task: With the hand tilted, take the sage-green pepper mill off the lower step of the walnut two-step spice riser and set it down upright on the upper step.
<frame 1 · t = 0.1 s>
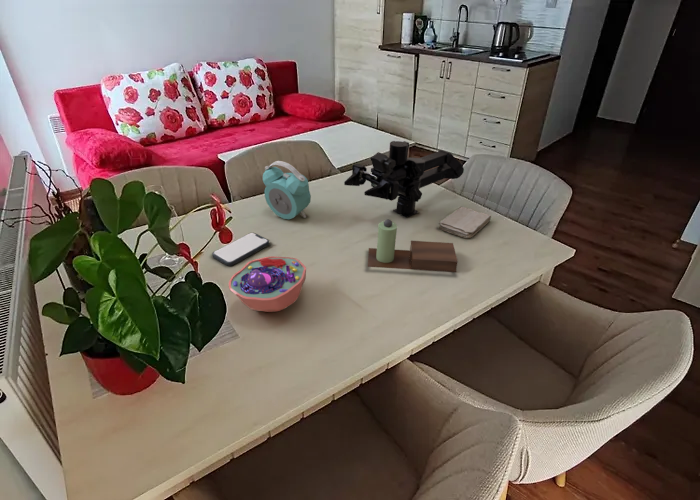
hand: (354, 188, 132), 17 cm above the table, tool horizontal, fingers open, 9 cm apart
cell model: (271, 301, 112), on the table
pepper mill: (385, 257, 127), point 1 cm above the table, touching spice riser
spice riser: (410, 263, 128), on the table
smartphone: (241, 251, 131), on the table
alarm clock: (288, 215, 151), on the table
washcloth: (464, 225, 149), on the table
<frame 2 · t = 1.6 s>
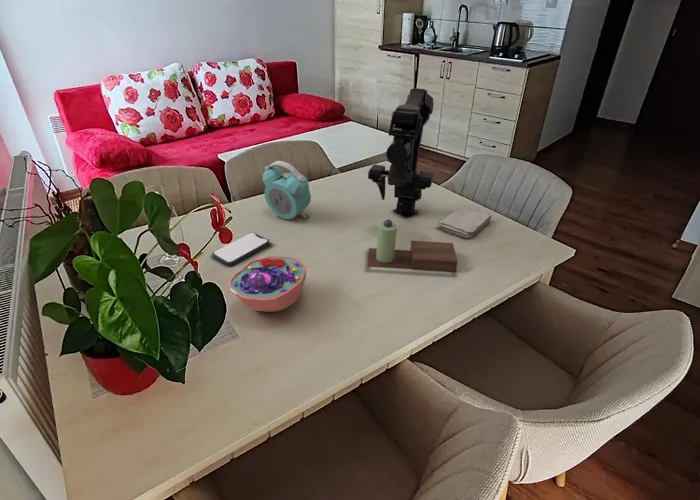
hand: (397, 201, 133), 13 cm above the table, tool pointing down, fingers open, 9 cm apart
nothing on the table moved.
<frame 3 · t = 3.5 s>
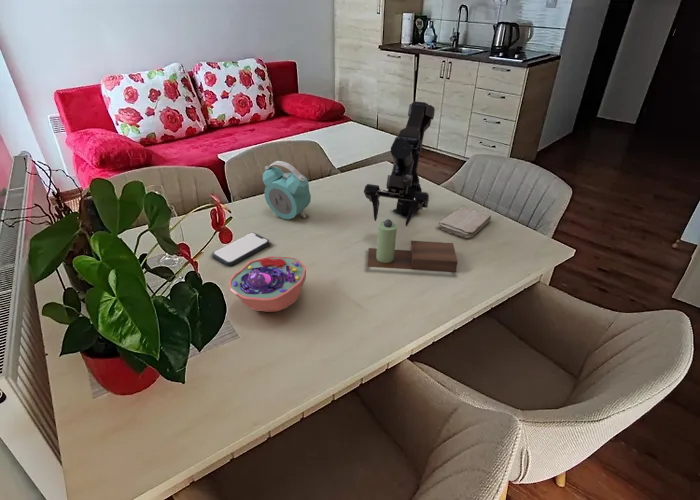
hand: (390, 223, 126), 11 cm above the table, tool tilted 45°, fingers open, 9 cm apart
nothing on the table moved.
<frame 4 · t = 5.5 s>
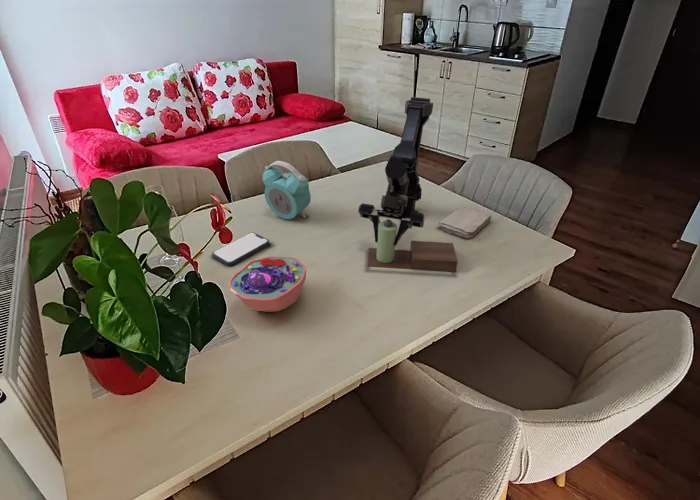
hand: (385, 243, 123), 7 cm above the table, tool tilted 45°, fingers closed on pepper mill, 5 cm apart
pepper mill: (385, 258, 127), point 2 cm above the table, touching gripper, spice riser
everything else where it was.
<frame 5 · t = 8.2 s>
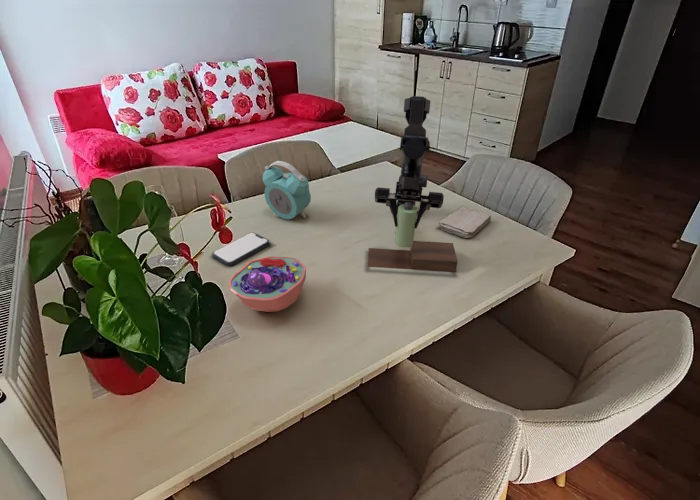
hand: (405, 227, 119), 13 cm above the table, tool tilted 45°, fingers closed on pepper mill, 5 cm apart
pepper mill: (403, 242, 123), point 8 cm above the table, touching gripper
everything else where it was.
when the fingers open (11 cm above the table, at t = 11.3 s): pepper mill stays where it is, resting on spice riser.
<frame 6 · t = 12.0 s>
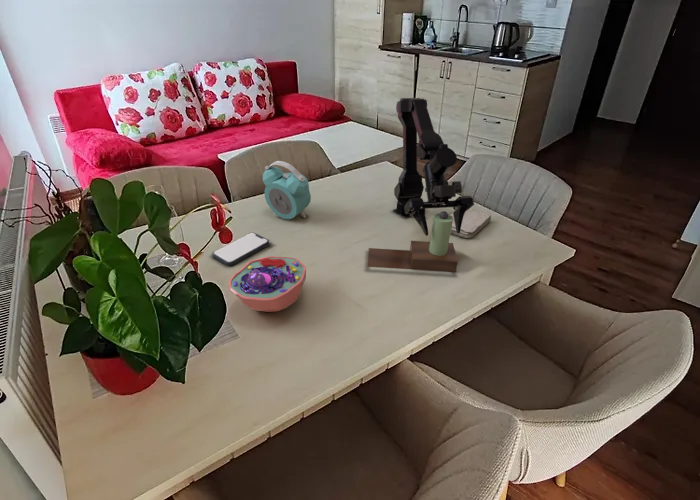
hand: (442, 234, 120), 11 cm above the table, tool tilted 45°, fingers open, 9 cm apart
pepper mill: (438, 250, 125), point 5 cm above the table, touching spice riser
everything else where it was.
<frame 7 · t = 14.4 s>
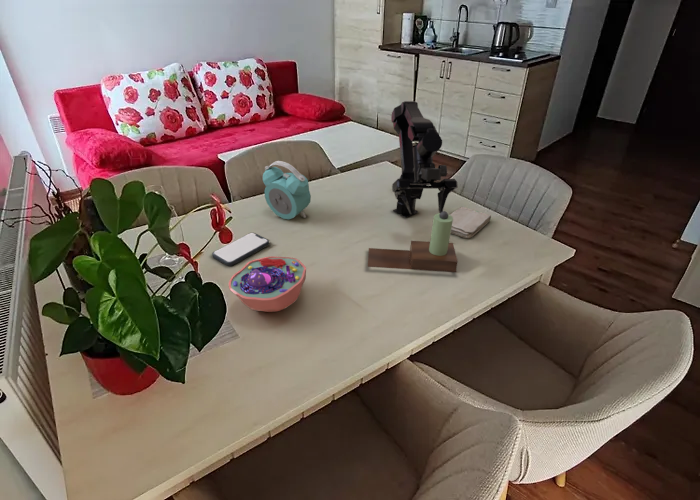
hand: (426, 213, 129), 12 cm above the table, tool tilted 40°, fingers open, 9 cm apart
nothing on the table moved.
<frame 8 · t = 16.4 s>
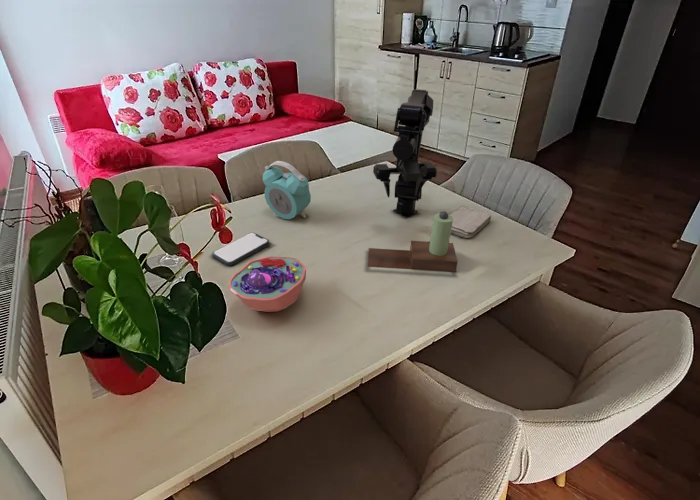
hand: (402, 196, 137), 13 cm above the table, tool pointing down, fingers open, 9 cm apart
nothing on the table moved.
at the end: pepper mill 0.1 cm from the target spot on the spice riser, point 5.0 cm above the spice riser's base; pepper mill tilted 0°; the gripper is holding nothing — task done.
